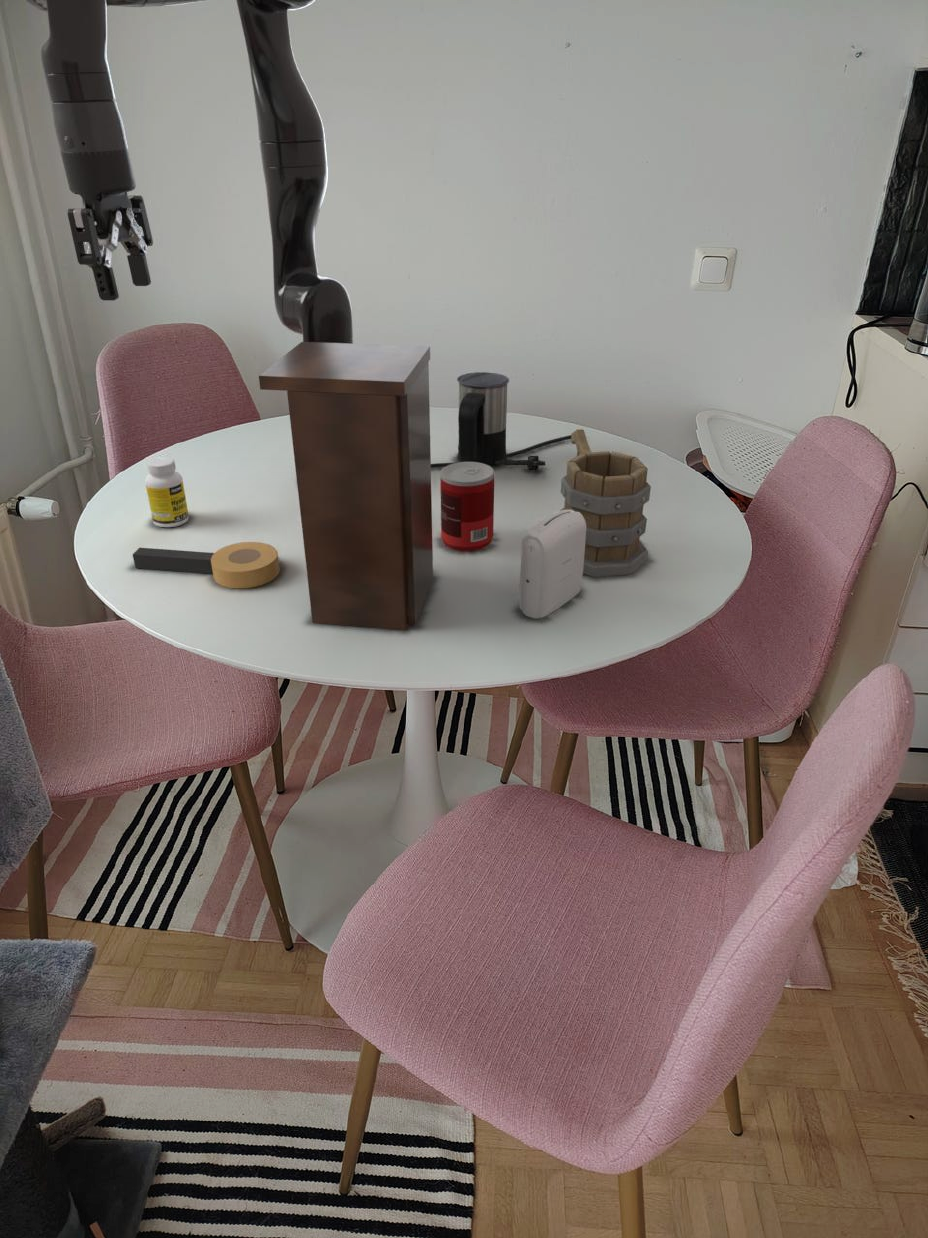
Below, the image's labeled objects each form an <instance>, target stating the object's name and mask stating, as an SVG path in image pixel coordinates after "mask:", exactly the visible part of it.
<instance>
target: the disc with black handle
mask: <svg viewBox="0 0 928 1238" xmlns="http://www.w3.org/2000/svg"><path fill="white" fill-rule="evenodd" d="M132 559H133V563H134V564H133V565H134V568H135V569H141V570H143V569H144V570H156V571H167V572H169V571H170V572H184V573H194V574H209V575H212V576H213V579H214V581H215V582H216V583H217V584H218V585H220V586H223V587H225V588H228V589H229V588H230V589H252V588H257V587H260V586H262V585H266V584H268V583H270V582H271V581H273V580H275V579H276V578H277V577H278V576H279V573H280V571H281V569H280V568H281V567H280V559H279V553H278V550H277V549H276V547H274V546H273V545H271V544H268V543H265V542H259V541H243V542H241V541H240V542H236V543H232V544H229V545H226V546H223V547H222V548H219V549H218V550H217V551H215V552H206V551H191V550H179V549H167V548H166V549H165V548H153V547H152V548H151V547H138V548H137V550H135V551H134V552H133V553H132Z"/></svg>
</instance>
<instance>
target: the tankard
mask: <svg viewBox="0 0 928 1238" xmlns="http://www.w3.org/2000/svg"><path fill="white" fill-rule="evenodd" d="M570 435H571V439H570V440H571V444H572V445H575V448H576V456H575V457H573V458H571V459H570V460H569V461H567V462H566V475H564V476H562V478H561V481H560V494H561V495H562V497H563V498H564V506H563V508H561V509H560V510H559V511H561V510H573V511H575V512H580V513H581V514H582V516H583V517H584V519H585V522H586V540H585V554H584V566H583V575H586V576H589V577H592V578H603V577H615V576H628V575H631V574H633V572H635V571H636V570H637V569H638V568H639V567H640V566H641V565H643V564H644V563H645V562H646V561H647V560H648V556H649V550H648V549H647V548H646V546H645V545H644V544H643V543H642V541H641V540H640V539H641V537H642V536H643V535H644V534H645V533H646V529H647V523H648V522H647V521H648V518H647V517H646V516H645V515H644V514H643V513H644V506H645V504H647V503H648V502H649V501H650V497H651V489H652V486H651V485H650V483H649V482H648V481H647V480H648V471H649V469H648V467H647V466H646V465H645V464H644V463H643V461H641V460H640V458H639V457H637V456H635V455H630V454H626V453H621V452H617V451H611V452H610V450H604V451H591V448H590V445H589V443H588V439H587V435H586V432H585V430H584V429H582V428H581V429H576V430H574V431H573V432H571V434H570Z"/></svg>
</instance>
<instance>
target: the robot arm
mask: <svg viewBox="0 0 928 1238" xmlns="http://www.w3.org/2000/svg"><path fill="white" fill-rule="evenodd" d="M23 1H24V2H25V3H27V4H28V5H29V6H31V7H33V8H35V9H36V10H39V11H42V12H46V13H47V22H48V30H49V34H48V37H47V39H45V41H44V42H43V43H42V44H41V45H40V49H39V54H40V55H39V58H40V63H41V69H42V74H43V78H44V81H45V85H46V89H47V92H48V93H47V94H48V98H49V101H50V102H51V103H50V106H51V112H52V121H53V127H54V132H55V136H56V140H57V144H58V148H59V152H60V156H61V160H62V164H63V168H64V172H65V177H66V180H67V185H68V189H69V191H70V192H71V193H72V194H74V195H79V196H80V197H81V201H82V202H81V203H82V208H68V209H67V211H66V213H67V214H66V215H67V218H68V224H69V227H70V230H71V236H72V241H73V245H74V250H75V255H76V260H77V262H78V264H79V265H81V266H87V267H88V268H90V269H91V270H92V274H93V277H94V278H93V279H94V281H95V286H96V289H97V293H98V297H99V298H100V300H101V301H110V302H111V301H112V302H113V301H116V300H118V299H119V298H120V295H119V291H118V286H117V283H116V282H117V281H116V277H115V273H114V270H113V267H112V259H113V252H114V251H116V250H117V248H118V243H120V244H121V245H122V247H123V248H124V250H125V251H126V253H127V254H128V255H126V258H127V262H128V267H129V271H130V276H131V281H132V284H133V285H134V286H135V287H147V286H150V285H151V284H152V279H151V276H150V275H151V274H150V270H149V265H148V260H147V256H146V254H148V250H149V248H148V247H152V246H153V245H154V239H153V234H152V231H151V225H150V222H149V218H148V214H147V209H146V205H145V200H144V197H143V196H142V195H136V194H128V193H129V192H132V191H134V190H135V189H136V187H137V183H136V179H135V175H134V174H135V173H134V169H133V164H132V160H131V154H130V150H129V144H128V141H127V136H126V131H125V126H124V122H123V118H122V116H121V113H120V109H119V107H118V103H117V99H116V94H115V89H114V85H113V80H112V75H111V71H110V67H109V61H108V57H107V55H108V54H107V51H108V50H107V49H108V48H107V47H108V13H107V11H108V9H107V7H123V8H153V7H155V8H156V7H168V6H169V7H170V6H179V5H186V4H193V3H200V2H207V1H208V2H209V0H23ZM315 1H316V0H236V5H237V10H238V15H239V20H240V24H241V28H242V33H243V37H244V42H245V48H246V54H247V58H248V64H249V70H250V78H251V86H252V91H253V98H254V104H255V105H254V106H255V110H256V111H255V112H256V120H257V129H258V141H259V149H260V155H261V157H260V158H261V163H262V171H263V178H264V183H265V191H266V199H267V208H268V217H269V226H270V234H271V235H270V236H271V243H272V244H271V245H272V263H273V264H272V267H273V268H272V273H273V297H274V298H273V299H274V306H275V311H276V314H277V317H278V318H279V319H278V320H279V321H280V322H281V324H282V325H283V326H284V327H285V328H286V329H287V330H288V331H291V332H293V333H294V334H297V335H301V336H302V342H320V343H346V344H354V321H353V307H352V302H351V298H350V295H349V292H348V290H347V289H346V287H345V286H344V285H343V284H342V282H340V281H338V280H336V279H334V278H332V277H327V276H323V275H319V269H318V263H317V254H316V253H317V251H316V229H317V223H318V220H319V216H320V213H321V209H322V206H323V203H324V199H325V195H326V192H327V186H328V180H329V179H328V177H329V169H328V158H327V155H328V154H327V145H326V135H325V128H324V124H323V120H322V117H321V115H320V112H319V110H318V107H317V105H316V103H315V100H314V99H313V97H312V94H311V93H310V90H309V89H308V87H307V84H306V83H305V81H304V79H303V77H302V74H301V72H300V69H299V68H298V65H297V61H296V60H295V56H294V52H293V47H292V39H291V33H290V26H289V25H290V24H289V11H296V10H301V9H304V8H307V7H308V6H310V5H312V4H313V3H314V2H315ZM85 245H86V247H87V253H86V250H85ZM101 252H102V253H101ZM568 440H572V439H571V434H570V435H565V436H560V437H556V438H552V439H549V440H546V441H542V442H540V443H537V444H534V445H532V446H528V447H526V448H522V449H519V450H515V451H513V452H509V453H506V457H507V459H508V458H512V457H515V456H516V457H517V456H519V455H523V454H526V453H528V452H531V451H534V450H536V449H539V448H542V447H545V446H548V445H552V444H556V443H559V442H564V441H568ZM454 463H458V461H456V462H438V463H437V462H436V463H431V469H435V468H444V467H446V466H448V465H450V464H454Z"/></svg>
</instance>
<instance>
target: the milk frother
mask: <svg viewBox="0 0 928 1238" xmlns="http://www.w3.org/2000/svg"><path fill="white" fill-rule="evenodd" d="M456 381H457V383H458V414H457V415H458V416H457V418H458V422H457V423H458V443H457V444H458V445H457V455H456V461H457V462H478V463H483V464H486V465H488V466H490V467H492V468H495V467H499V466H503V465H504V466H526V467H527V470H528V471H539V467H544V466H546V463H547V462H546V461H544V460H541V459H540V458H539V455H528V456H527V459H508V458H507V457H506V454H507V412H508V384H509V382H510V378H509V377H508V376H506V375H504V374H500V373H495V372H485V371H484V372H483V371H477V372H469V373H465V374H461V375H459V376H458V377H457V378H456Z"/></svg>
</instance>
